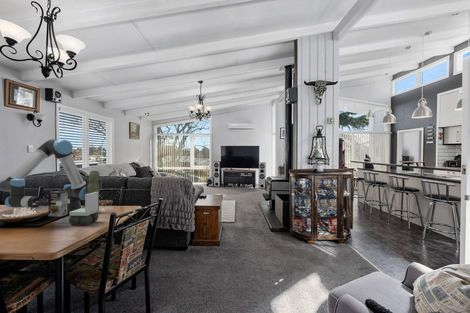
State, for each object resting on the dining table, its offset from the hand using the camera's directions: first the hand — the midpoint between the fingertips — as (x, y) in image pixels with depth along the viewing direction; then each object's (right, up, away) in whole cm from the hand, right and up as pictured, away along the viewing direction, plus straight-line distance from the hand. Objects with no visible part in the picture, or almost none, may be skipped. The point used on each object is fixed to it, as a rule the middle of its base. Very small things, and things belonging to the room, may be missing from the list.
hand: (65, 202), depth 165 cm
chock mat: (-5, -16, +11) cm, 20 cm away
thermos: (-3, -16, +37) cm, 41 cm away
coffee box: (-5, -9, 0) cm, 10 cm away
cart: (+9, -16, +7) cm, 19 cm away
